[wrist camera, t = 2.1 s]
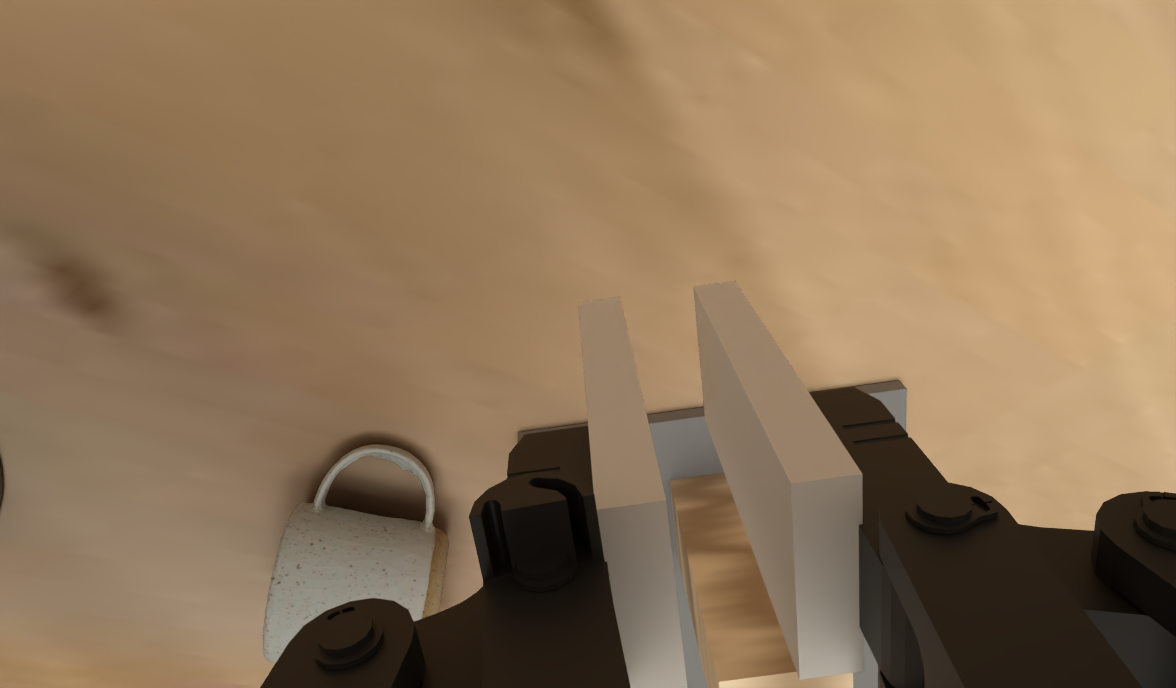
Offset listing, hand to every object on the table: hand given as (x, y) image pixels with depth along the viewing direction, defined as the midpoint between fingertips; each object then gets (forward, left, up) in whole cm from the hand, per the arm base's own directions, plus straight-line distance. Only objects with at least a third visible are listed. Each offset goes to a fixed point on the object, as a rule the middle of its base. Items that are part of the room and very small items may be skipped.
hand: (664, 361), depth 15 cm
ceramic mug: (-15, -18, -25) cm, 34 cm away
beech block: (+4, -20, -23) cm, 31 cm away
